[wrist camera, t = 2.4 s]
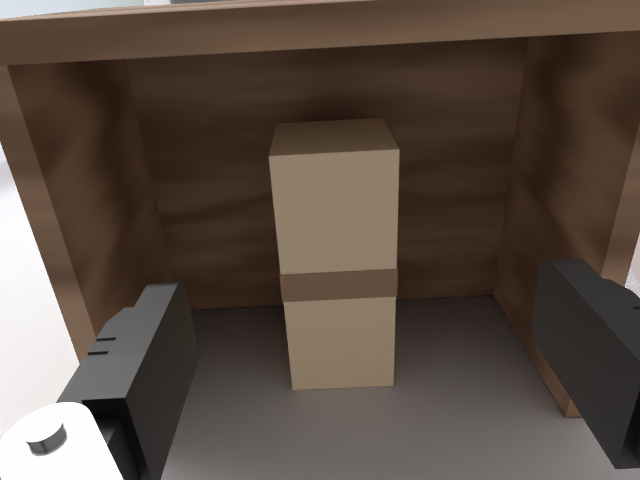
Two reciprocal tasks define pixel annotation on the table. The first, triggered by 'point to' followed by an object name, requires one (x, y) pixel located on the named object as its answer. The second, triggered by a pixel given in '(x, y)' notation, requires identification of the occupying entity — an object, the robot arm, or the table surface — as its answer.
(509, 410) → the table surface
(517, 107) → the cubby
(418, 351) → the table surface
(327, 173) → the block
